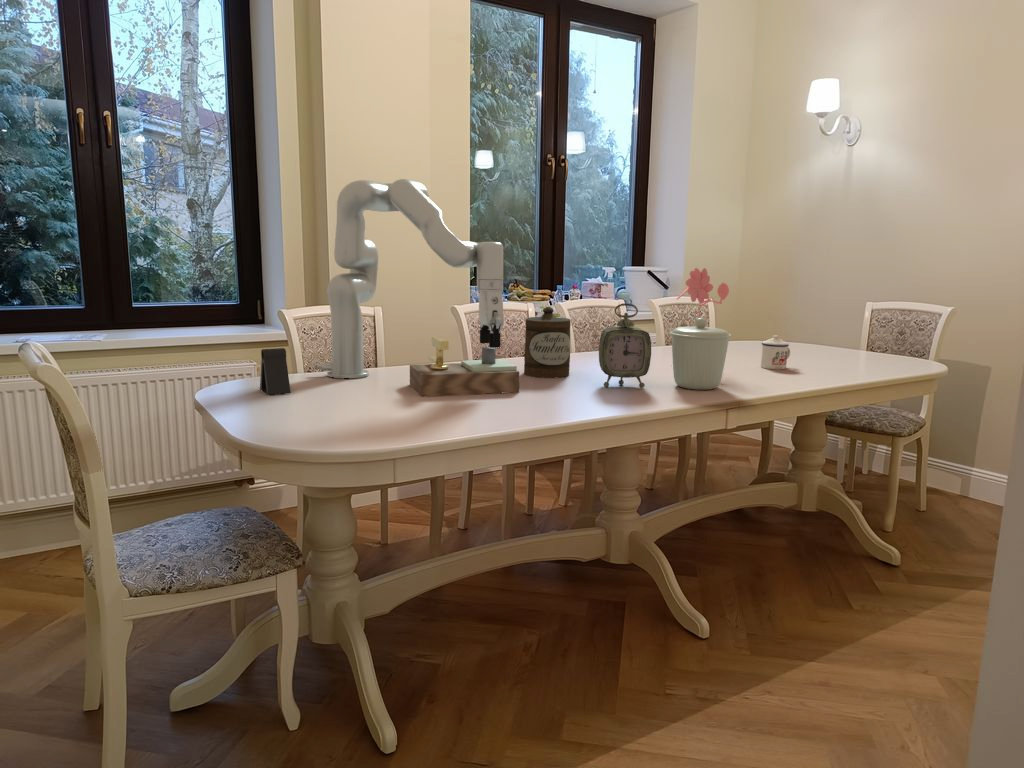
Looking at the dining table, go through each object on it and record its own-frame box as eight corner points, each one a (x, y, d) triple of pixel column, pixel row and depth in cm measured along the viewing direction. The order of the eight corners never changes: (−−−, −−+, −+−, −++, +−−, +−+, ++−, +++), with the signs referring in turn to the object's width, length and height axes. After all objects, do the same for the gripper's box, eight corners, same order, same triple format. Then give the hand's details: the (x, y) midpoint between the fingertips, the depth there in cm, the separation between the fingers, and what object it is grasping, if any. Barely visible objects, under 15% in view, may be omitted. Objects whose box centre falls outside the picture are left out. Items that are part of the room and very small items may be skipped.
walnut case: (421, 396, 203) (421, 375, 202) (409, 384, 220) (409, 364, 219) (518, 392, 212) (519, 371, 211) (500, 381, 228) (500, 362, 227)
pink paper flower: (684, 360, 280) (689, 266, 273) (735, 371, 257) (741, 269, 251) (652, 363, 273) (656, 266, 266) (701, 375, 250) (706, 269, 243)
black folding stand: (259, 390, 208) (258, 347, 205) (281, 388, 211) (280, 346, 209) (268, 395, 200) (266, 351, 198) (290, 393, 203) (289, 350, 201)
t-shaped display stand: (452, 371, 209) (452, 341, 207) (435, 371, 207) (435, 341, 205) (439, 362, 223) (439, 334, 221) (423, 363, 221) (423, 335, 219)
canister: (654, 386, 226) (658, 316, 222) (687, 379, 239) (691, 314, 235) (707, 395, 213) (712, 322, 210) (738, 388, 226) (744, 318, 222)
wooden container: (531, 378, 235) (532, 308, 231) (519, 370, 249) (520, 304, 245) (575, 377, 238) (578, 308, 234) (561, 369, 253) (563, 305, 249)
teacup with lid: (773, 370, 261) (776, 337, 259) (754, 366, 269) (757, 334, 267) (798, 368, 266) (801, 336, 264) (778, 364, 274) (781, 333, 272)
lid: (472, 371, 209) (472, 351, 208) (461, 364, 221) (461, 345, 220) (516, 370, 213) (517, 350, 212) (503, 363, 225) (503, 344, 224)
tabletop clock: (600, 388, 220) (604, 304, 216) (596, 383, 229) (599, 301, 225) (649, 389, 221) (653, 305, 216) (642, 383, 230) (647, 302, 225)
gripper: (511, 287, 206) (511, 348, 209) (493, 284, 222) (493, 341, 225) (485, 287, 203) (485, 349, 206) (469, 284, 220) (469, 342, 223)
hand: (489, 345), depth 216 cm, fingers open, 9 cm apart
